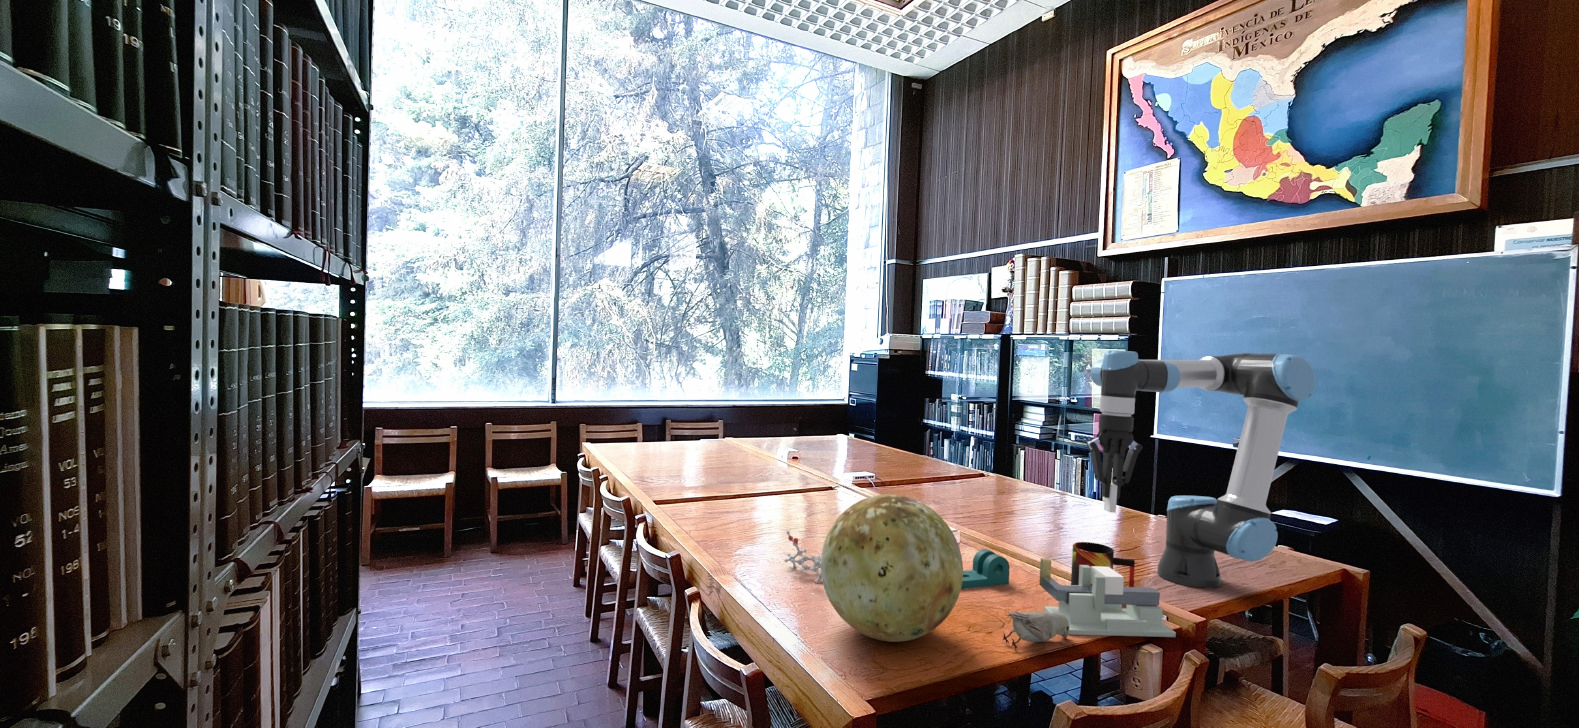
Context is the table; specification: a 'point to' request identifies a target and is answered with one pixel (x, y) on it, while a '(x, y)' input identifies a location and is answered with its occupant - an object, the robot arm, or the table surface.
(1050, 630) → the decorative bird
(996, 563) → the bracket
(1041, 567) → the bent bar
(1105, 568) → the block
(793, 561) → the molecular model
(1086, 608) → the stepped block fixture
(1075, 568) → the mug
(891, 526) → the globe
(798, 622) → the table surface
